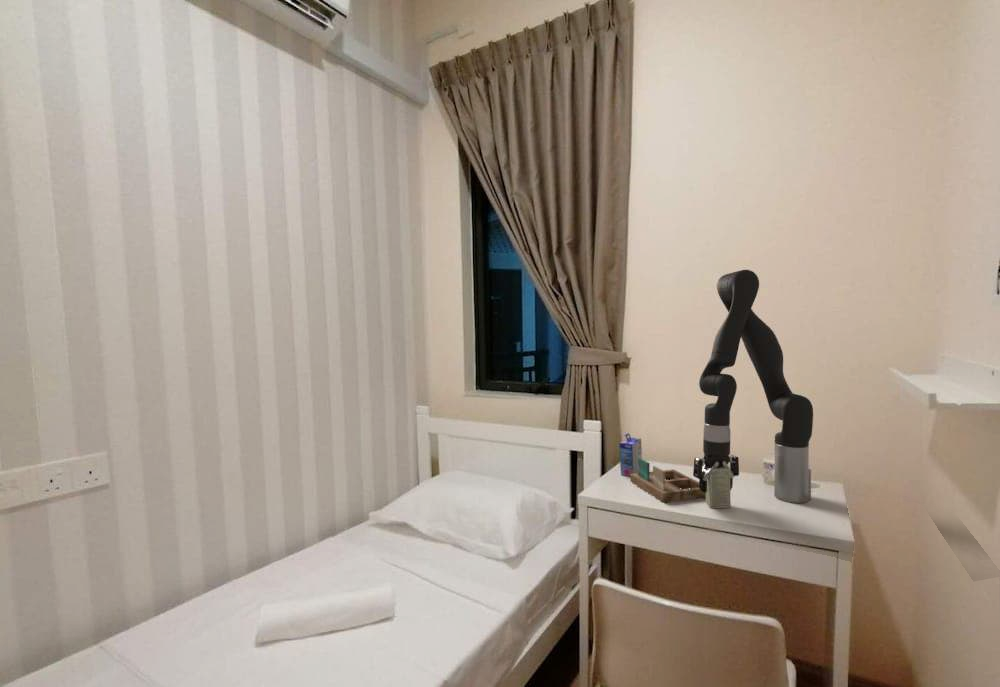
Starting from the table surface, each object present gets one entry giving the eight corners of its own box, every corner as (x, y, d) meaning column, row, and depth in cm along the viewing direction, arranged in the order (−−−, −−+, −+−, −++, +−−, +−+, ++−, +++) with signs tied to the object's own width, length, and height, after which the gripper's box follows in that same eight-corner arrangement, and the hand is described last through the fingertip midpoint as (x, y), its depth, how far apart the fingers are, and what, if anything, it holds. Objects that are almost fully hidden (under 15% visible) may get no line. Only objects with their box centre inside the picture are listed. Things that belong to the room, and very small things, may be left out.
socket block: (673, 477, 176) (673, 452, 176) (710, 497, 157) (710, 469, 156) (630, 482, 172) (630, 456, 172) (663, 502, 153) (663, 474, 152)
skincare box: (725, 503, 151) (725, 464, 151) (731, 508, 147) (731, 469, 146) (704, 502, 152) (704, 464, 151) (709, 508, 147) (709, 468, 147)
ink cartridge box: (628, 468, 189) (628, 430, 188) (642, 470, 186) (642, 432, 185) (619, 474, 181) (619, 436, 180) (633, 477, 178) (633, 438, 177)
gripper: (703, 442, 144) (703, 496, 144) (745, 439, 147) (744, 492, 147) (688, 436, 151) (687, 488, 152) (728, 434, 154) (727, 484, 155)
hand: (715, 490), depth 150 cm, fingers open, 8 cm apart
